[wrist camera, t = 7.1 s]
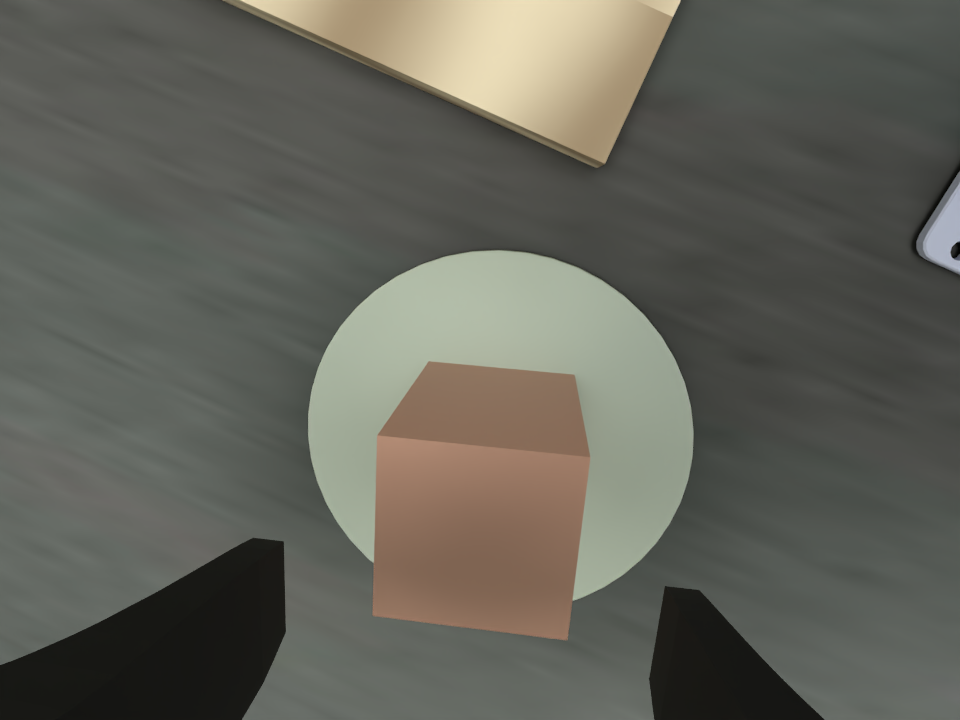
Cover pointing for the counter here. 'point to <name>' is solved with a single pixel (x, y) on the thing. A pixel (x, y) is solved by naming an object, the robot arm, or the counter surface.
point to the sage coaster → (524, 346)
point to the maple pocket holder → (501, 56)
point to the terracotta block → (481, 500)
